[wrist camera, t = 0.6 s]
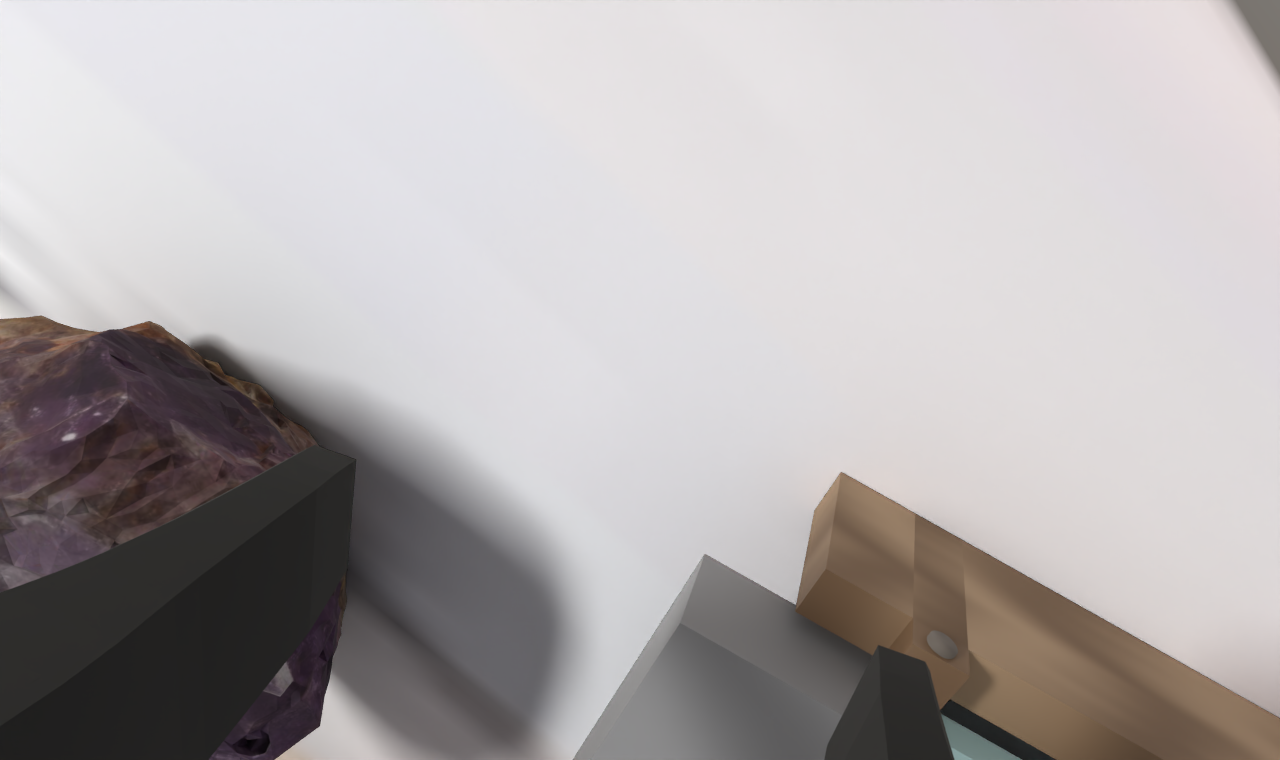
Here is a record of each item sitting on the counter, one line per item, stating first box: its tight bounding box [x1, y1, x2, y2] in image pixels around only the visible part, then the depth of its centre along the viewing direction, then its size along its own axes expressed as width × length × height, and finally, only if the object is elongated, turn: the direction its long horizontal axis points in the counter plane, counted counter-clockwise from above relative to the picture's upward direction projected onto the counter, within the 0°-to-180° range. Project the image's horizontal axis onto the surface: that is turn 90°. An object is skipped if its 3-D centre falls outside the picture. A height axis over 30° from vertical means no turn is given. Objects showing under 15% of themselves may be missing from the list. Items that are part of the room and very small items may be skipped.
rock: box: [0, 316, 347, 760], centre depth 24 cm, size 12×9×10 cm
